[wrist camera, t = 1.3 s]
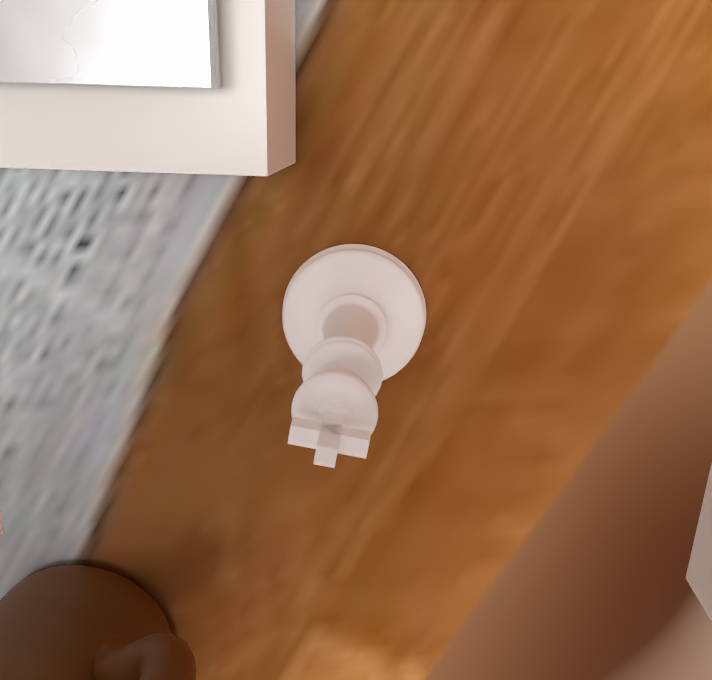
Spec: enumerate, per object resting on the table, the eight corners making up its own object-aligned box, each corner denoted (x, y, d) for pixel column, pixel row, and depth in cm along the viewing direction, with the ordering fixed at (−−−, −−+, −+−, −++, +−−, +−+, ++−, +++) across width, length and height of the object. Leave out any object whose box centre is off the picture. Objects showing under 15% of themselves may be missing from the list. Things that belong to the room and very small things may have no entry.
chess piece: (294, 230, 22) (219, 318, 12) (440, 258, 22) (475, 368, 13) (273, 367, 24) (192, 536, 14) (409, 392, 24) (420, 578, 14)
